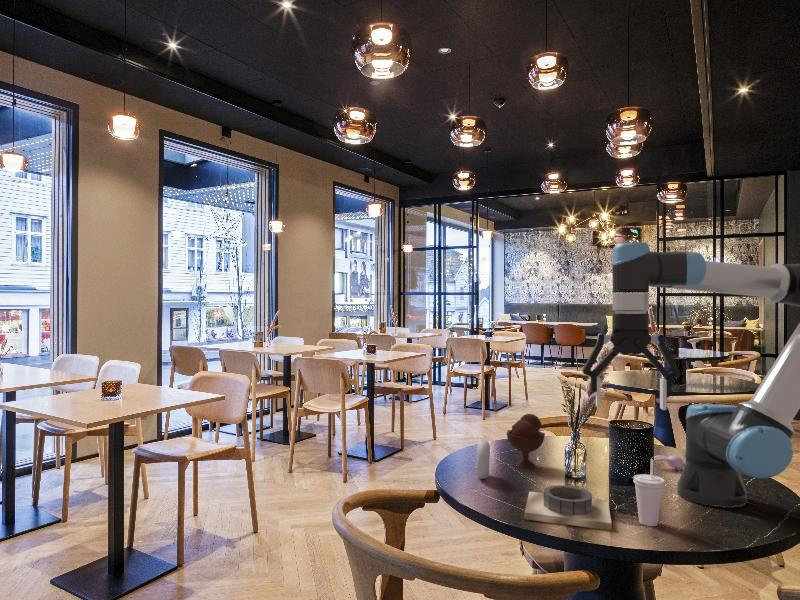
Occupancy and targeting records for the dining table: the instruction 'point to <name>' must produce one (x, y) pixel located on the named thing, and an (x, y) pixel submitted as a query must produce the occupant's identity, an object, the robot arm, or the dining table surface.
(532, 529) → the dining table surface
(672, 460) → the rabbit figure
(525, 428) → the ice cream bowl
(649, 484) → the smoothie
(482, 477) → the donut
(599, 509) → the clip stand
